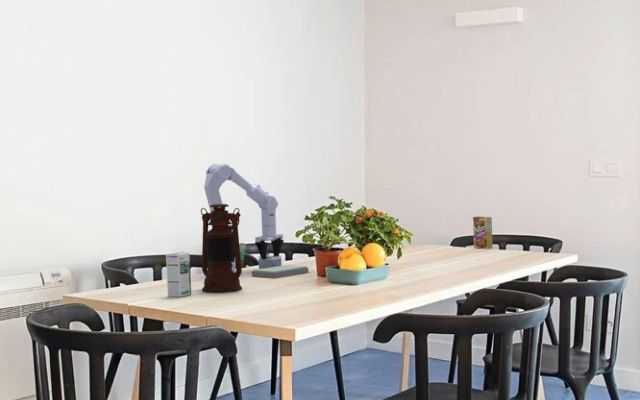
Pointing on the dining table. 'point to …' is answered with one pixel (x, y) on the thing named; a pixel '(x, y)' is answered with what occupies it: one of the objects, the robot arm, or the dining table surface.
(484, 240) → the candy box
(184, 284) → the syrup box
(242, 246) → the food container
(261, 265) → the housing
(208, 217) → the lantern
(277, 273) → the stand
